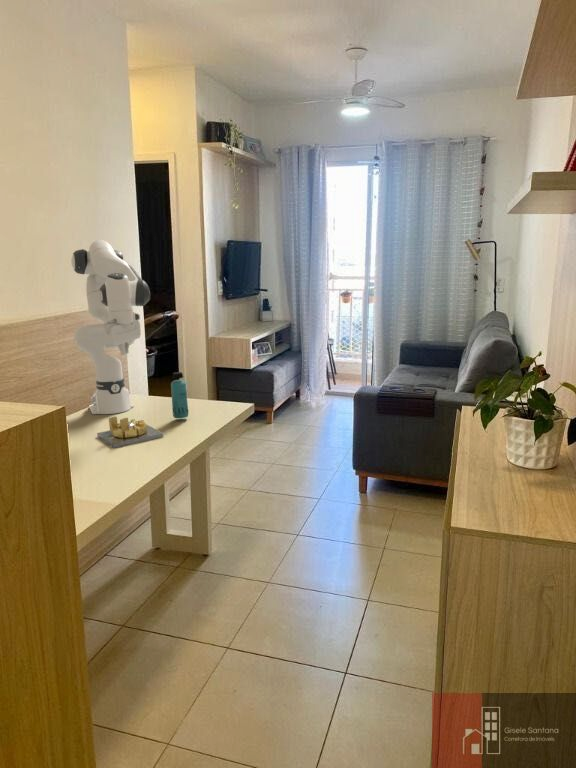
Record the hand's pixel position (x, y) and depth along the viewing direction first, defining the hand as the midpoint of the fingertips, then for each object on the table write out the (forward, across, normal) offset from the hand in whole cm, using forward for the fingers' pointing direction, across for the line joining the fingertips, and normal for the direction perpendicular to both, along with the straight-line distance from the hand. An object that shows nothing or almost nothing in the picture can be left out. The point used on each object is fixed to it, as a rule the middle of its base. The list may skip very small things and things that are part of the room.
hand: (124, 354), depth 215 cm
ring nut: (+28, -8, -4) cm, 30 cm away
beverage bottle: (+31, +16, -13) cm, 37 cm away
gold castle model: (+30, -8, -4) cm, 31 cm away
